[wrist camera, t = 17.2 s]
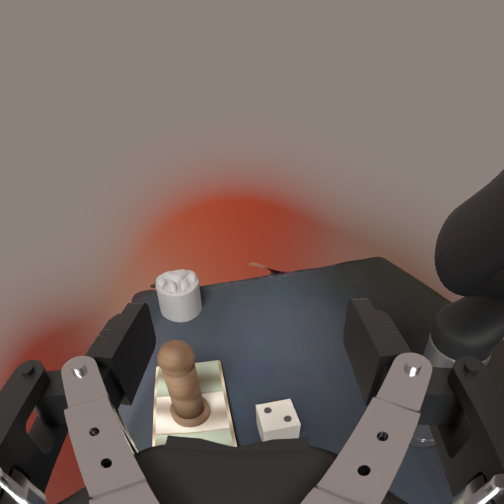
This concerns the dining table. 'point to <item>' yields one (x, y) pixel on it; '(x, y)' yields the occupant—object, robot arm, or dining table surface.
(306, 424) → the dining table surface
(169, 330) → the dining table surface
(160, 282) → the lumpy-topped squat cylinder
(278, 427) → the die
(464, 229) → the robot arm
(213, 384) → the game board
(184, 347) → the pawn
